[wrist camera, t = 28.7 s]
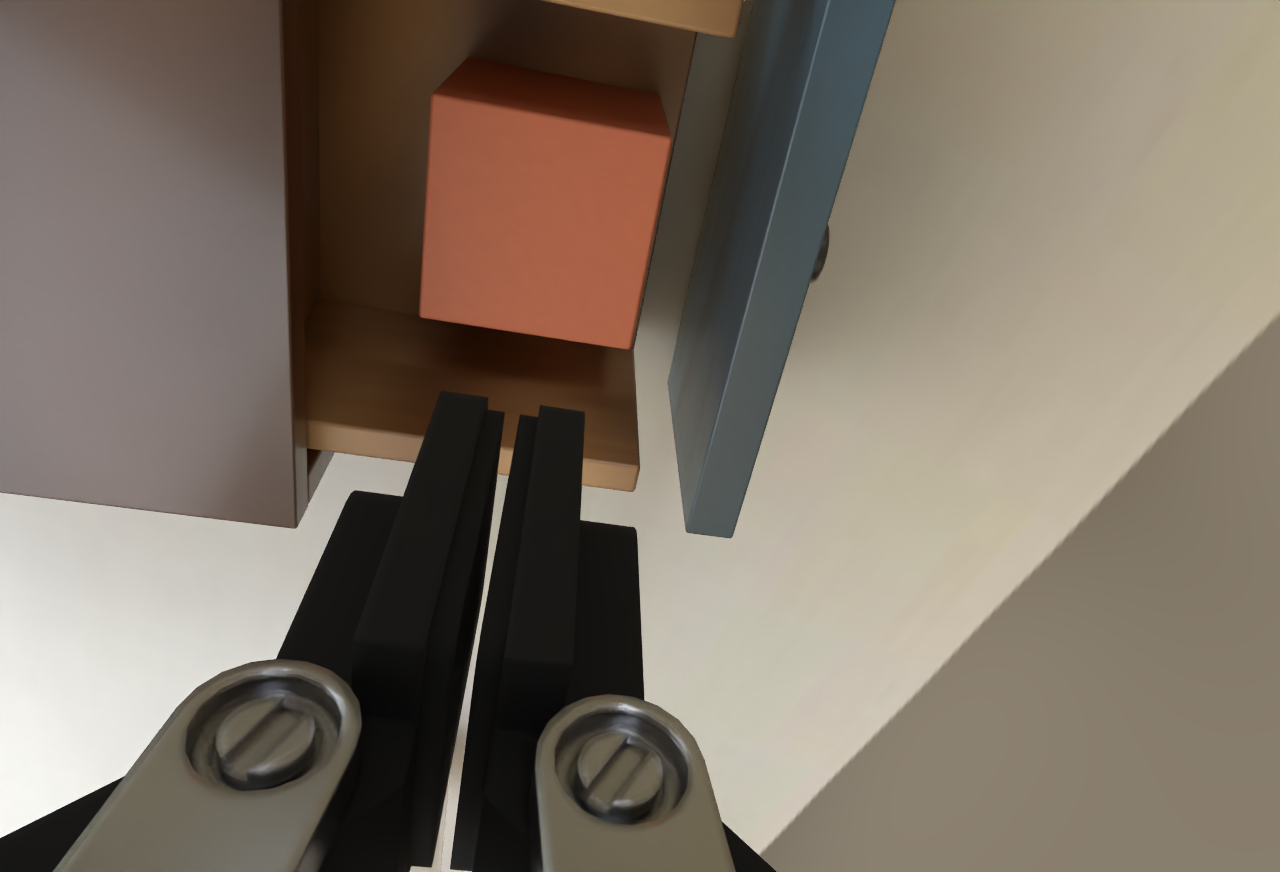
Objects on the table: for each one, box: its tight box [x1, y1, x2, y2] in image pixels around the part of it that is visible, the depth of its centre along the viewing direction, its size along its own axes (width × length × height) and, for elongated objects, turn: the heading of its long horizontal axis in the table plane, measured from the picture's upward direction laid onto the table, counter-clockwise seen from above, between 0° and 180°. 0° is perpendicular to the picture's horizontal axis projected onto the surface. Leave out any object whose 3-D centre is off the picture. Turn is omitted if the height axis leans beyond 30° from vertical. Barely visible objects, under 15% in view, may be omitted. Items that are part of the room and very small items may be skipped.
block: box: [419, 58, 672, 350], centre depth 21 cm, size 5×5×5 cm
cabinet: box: [0, 0, 335, 529], centre depth 19 cm, size 14×14×10 cm
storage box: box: [298, 0, 896, 538], centre depth 21 cm, size 14×13×8 cm
